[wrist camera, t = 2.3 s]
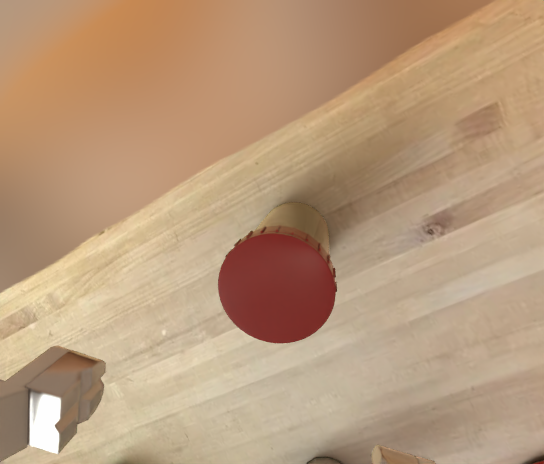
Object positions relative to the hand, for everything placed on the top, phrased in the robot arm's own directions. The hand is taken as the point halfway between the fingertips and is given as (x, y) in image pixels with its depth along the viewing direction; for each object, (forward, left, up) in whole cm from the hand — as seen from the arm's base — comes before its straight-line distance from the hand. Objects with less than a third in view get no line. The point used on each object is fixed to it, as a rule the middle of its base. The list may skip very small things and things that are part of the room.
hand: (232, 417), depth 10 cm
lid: (0, 0, -9) cm, 9 cm away
